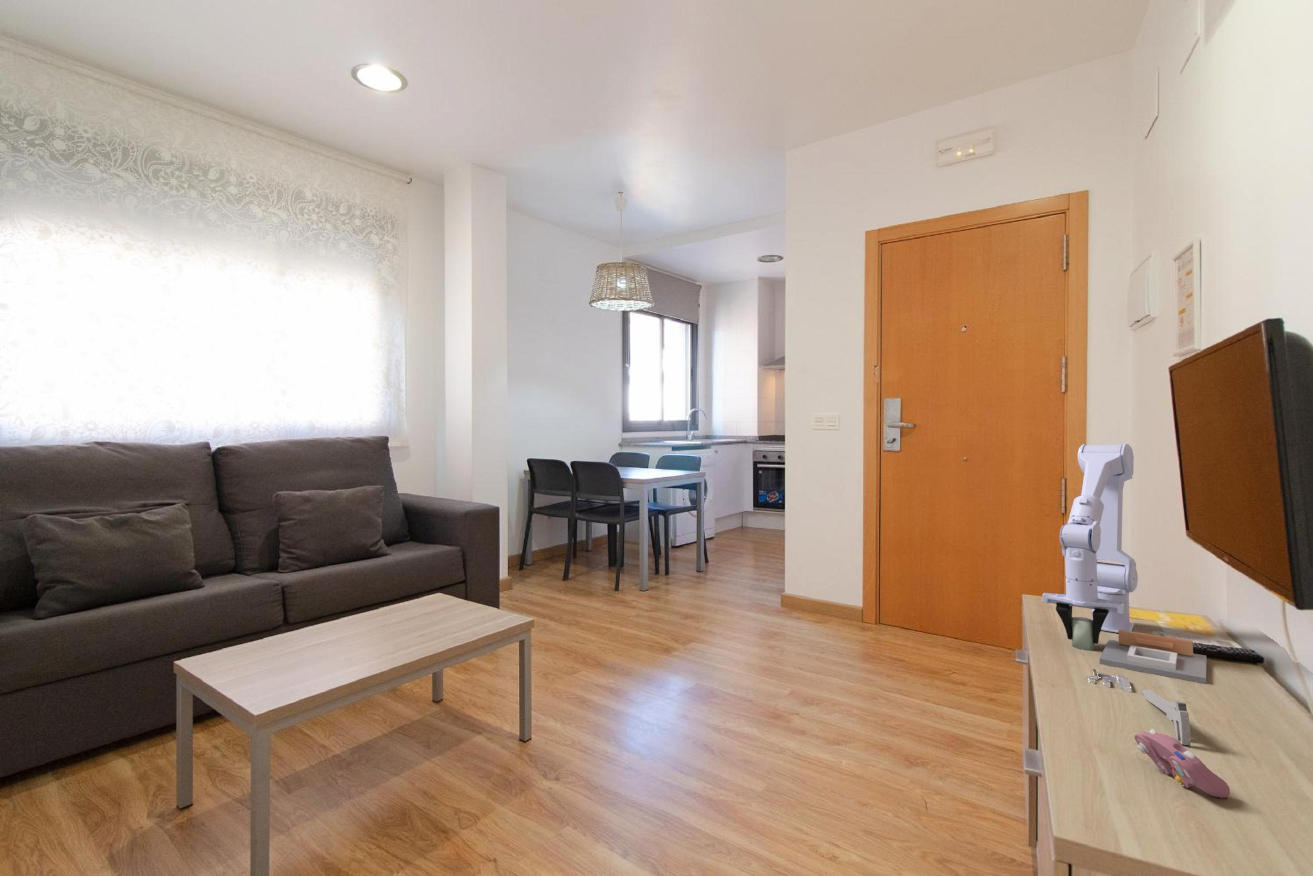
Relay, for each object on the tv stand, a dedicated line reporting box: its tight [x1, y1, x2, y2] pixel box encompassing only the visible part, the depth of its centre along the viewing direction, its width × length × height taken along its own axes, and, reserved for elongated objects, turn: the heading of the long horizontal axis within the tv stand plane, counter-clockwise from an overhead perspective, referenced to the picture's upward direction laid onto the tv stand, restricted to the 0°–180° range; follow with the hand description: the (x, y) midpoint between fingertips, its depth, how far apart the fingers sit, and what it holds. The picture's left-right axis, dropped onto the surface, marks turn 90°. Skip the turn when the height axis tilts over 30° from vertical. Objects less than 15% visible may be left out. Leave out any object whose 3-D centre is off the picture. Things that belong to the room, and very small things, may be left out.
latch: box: [1117, 629, 1194, 656], centre depth 126 cm, size 2×12×3 cm, turn 47°
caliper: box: [1140, 688, 1192, 747], centre depth 99 cm, size 20×1×6 cm, turn 155°
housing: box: [1099, 639, 1208, 685], centre depth 123 cm, size 15×16×2 cm
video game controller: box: [1133, 728, 1231, 799], centre depth 82 cm, size 10×5×7 cm, turn 179°
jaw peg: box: [1071, 616, 1095, 651], centre depth 132 cm, size 4×4×6 cm
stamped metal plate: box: [1086, 668, 1132, 693], centre depth 114 cm, size 8×7×2 cm
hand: (1083, 640), depth 132 cm, fingers closed on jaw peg, 4 cm apart
